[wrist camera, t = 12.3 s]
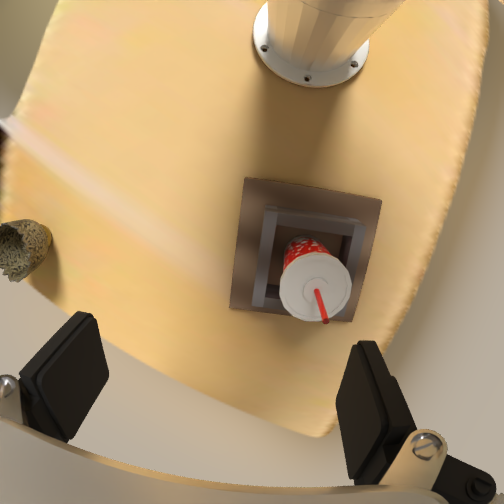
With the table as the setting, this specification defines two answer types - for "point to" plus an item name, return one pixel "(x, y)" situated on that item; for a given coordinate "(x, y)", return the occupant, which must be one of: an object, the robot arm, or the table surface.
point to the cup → (22, 247)
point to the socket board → (292, 225)
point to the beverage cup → (313, 280)
